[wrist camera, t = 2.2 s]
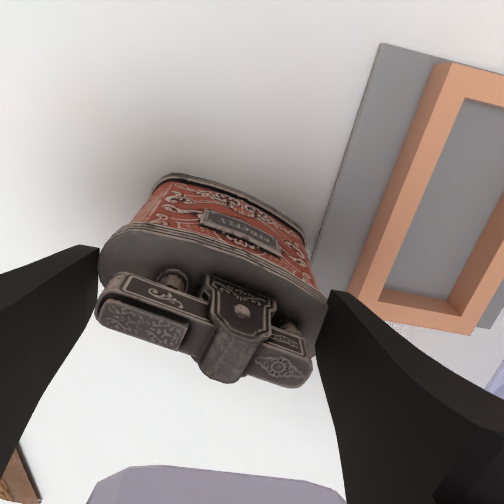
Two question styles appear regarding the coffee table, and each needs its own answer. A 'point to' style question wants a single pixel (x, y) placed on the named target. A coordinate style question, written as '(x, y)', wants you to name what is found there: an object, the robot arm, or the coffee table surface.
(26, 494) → the wooden fragment
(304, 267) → the lighter
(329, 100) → the coffee table surface
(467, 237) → the holder
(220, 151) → the coffee table surface
